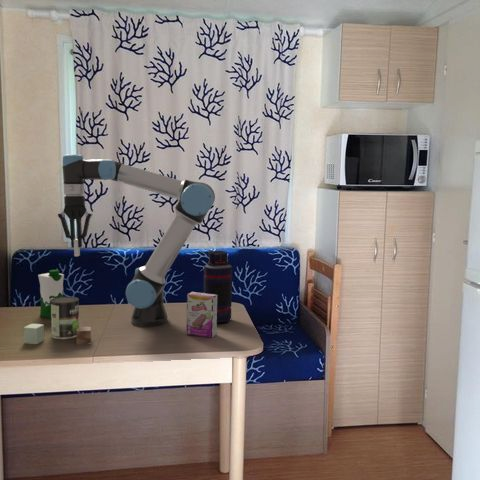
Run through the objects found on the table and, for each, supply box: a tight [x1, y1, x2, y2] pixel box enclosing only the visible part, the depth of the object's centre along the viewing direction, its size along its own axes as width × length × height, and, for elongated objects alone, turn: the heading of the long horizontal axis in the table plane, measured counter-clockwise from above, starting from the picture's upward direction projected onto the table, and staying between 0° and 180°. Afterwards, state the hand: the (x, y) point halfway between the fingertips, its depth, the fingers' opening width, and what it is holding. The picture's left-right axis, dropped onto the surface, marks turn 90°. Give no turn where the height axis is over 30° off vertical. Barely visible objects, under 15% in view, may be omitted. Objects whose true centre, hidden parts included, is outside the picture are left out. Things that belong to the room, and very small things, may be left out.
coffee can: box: [50, 296, 80, 340], centre depth 208 cm, size 10×10×14 cm
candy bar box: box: [185, 291, 218, 339], centre depth 212 cm, size 11×5×16 cm, turn 71°
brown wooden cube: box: [76, 326, 92, 345], centre depth 202 cm, size 5×5×5 cm
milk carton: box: [37, 269, 65, 319], centre depth 233 cm, size 9×9×20 cm
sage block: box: [23, 323, 45, 345], centre depth 201 cm, size 5×5×6 cm
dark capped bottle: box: [203, 250, 233, 324], centre depth 231 cm, size 14×12×30 cm
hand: (77, 255), depth 212 cm, fingers closed
